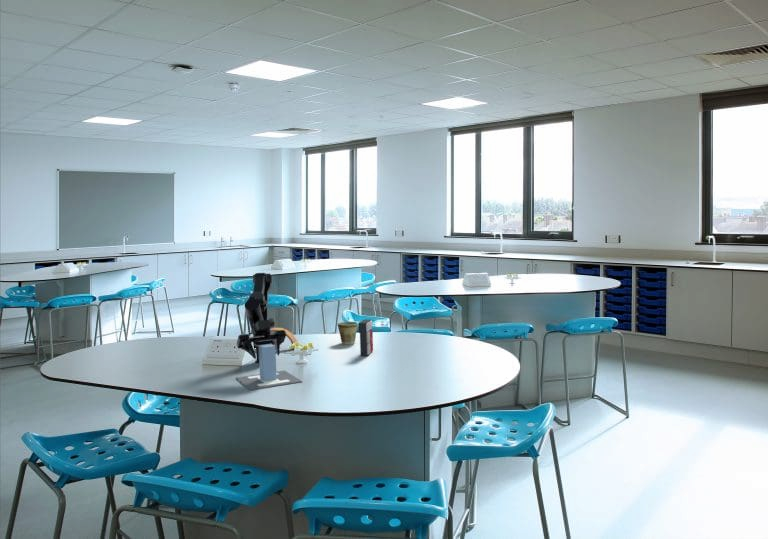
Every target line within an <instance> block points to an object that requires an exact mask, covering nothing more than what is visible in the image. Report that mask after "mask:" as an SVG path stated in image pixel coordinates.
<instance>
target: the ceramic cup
mask: <svg viewBox="0 0 768 539" xmlns="http://www.w3.org/2000/svg"><path fill="white" fill-rule="evenodd" d="M358 323H359V322H357V321H342V322H338V323H337V327H338V333H339V336H340V337H339V338H340V340H341V341H340V342H341V344H342V345H354V344H356V337H357V336H356V335H357V331H358Z"/></svg>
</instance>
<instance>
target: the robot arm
mask: <svg viewBox="0 0 768 539" xmlns="http://www.w3.org/2000/svg"><path fill="white" fill-rule="evenodd" d="M252 284H253V290H252V293H251V294H250V295H249V296H248V298H247V299H248V300H246V301H245V302H244V309H245V313H246V316H247V320H248V323H249V327H250V333H251V334H252V336H250V334H249V333H244V334H239V335H238V336H237V339H236V340H237V341H236V346H237V348H238V349H241V350H243V351H245V352H246V353H247V354H249V355H250V356H251V357H252V358H253V359H254V360H255V361H254V363H259V345H266V344H272V345H274V346H275V352H276V355H277V356H278V357H279V356H280V350H281V348H280V347H281V345H282V344H283V343H284V342H285V339H286V337H287V336H286V332H285V331H284V330H277V331H275V332H272V331H271V330H270V329H272V328H274V327H275V325H276V324H275V319H274V318H272V317H271V318H269V293H270V292H271V290H272V286H273V284H274V276H273V274H271V273H266V272H256V273H254V274H252ZM255 348H256V350H255Z"/></svg>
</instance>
